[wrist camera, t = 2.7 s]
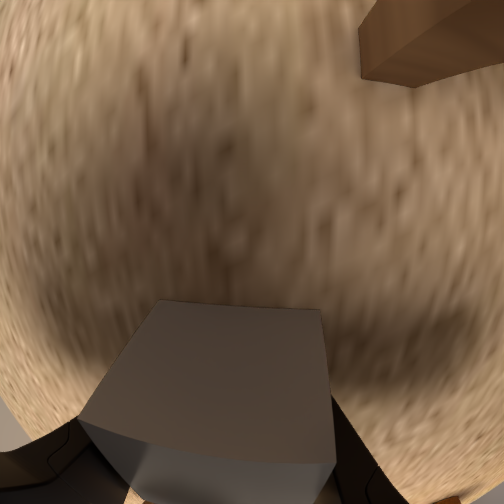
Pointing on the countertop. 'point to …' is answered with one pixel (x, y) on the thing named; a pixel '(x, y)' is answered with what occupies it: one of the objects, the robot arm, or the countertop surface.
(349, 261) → the countertop surface
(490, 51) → the frame
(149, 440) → the gray cube
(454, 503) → the disposable coffee cup
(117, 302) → the countertop surface
